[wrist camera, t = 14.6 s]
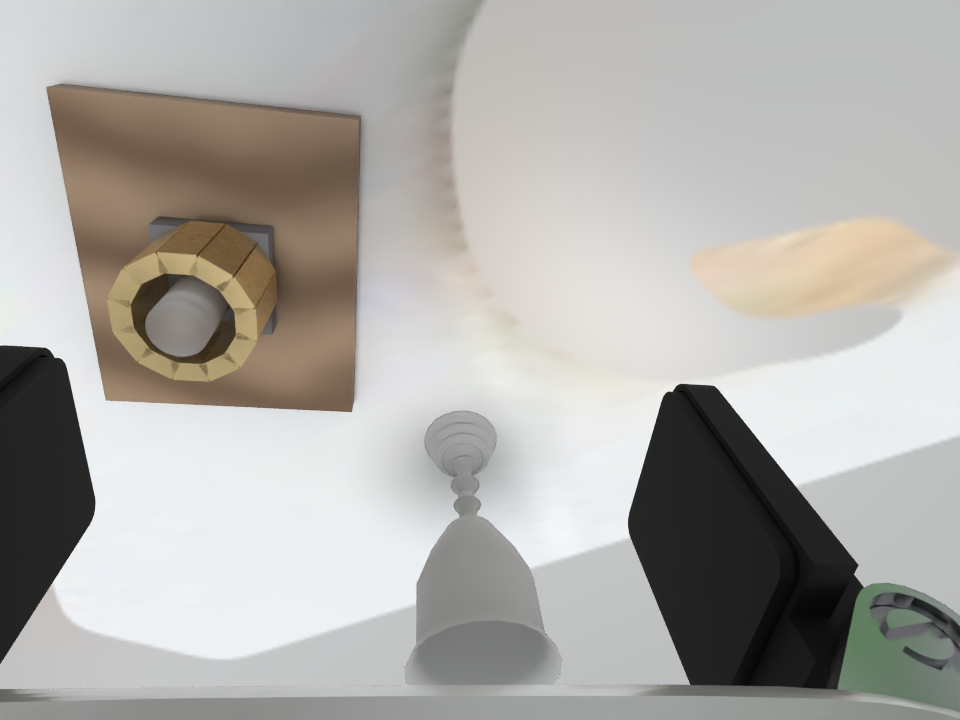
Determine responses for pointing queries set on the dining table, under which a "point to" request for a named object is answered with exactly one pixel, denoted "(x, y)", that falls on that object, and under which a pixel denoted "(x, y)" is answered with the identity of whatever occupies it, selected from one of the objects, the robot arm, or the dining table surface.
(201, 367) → the ring
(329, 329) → the shaft stand
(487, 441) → the chalice
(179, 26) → the dining table surface
